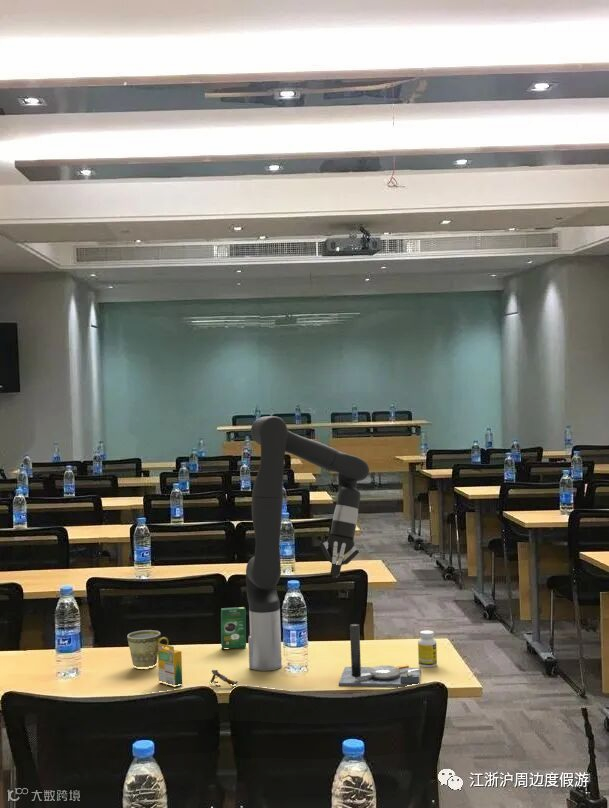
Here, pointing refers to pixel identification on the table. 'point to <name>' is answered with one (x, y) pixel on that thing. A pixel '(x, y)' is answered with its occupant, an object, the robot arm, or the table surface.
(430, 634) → the supplement bottle
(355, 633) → the upright bar with disc
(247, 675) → the table surface
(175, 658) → the crayon box
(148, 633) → the ceramic cup
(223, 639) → the coffee box
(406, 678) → the base plate
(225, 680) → the wooden post with brackets
